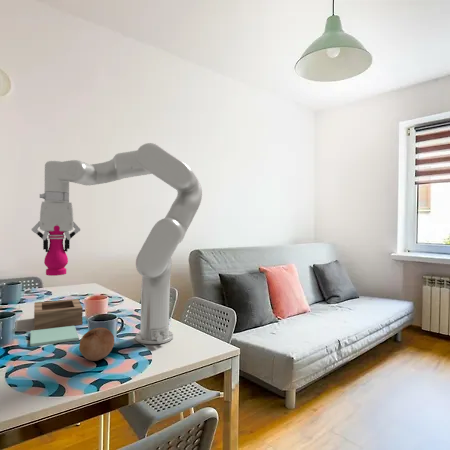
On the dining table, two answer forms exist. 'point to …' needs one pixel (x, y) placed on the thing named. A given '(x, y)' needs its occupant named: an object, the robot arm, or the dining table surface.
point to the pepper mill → (56, 254)
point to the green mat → (53, 335)
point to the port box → (57, 314)
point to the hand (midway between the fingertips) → (56, 250)
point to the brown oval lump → (96, 344)
